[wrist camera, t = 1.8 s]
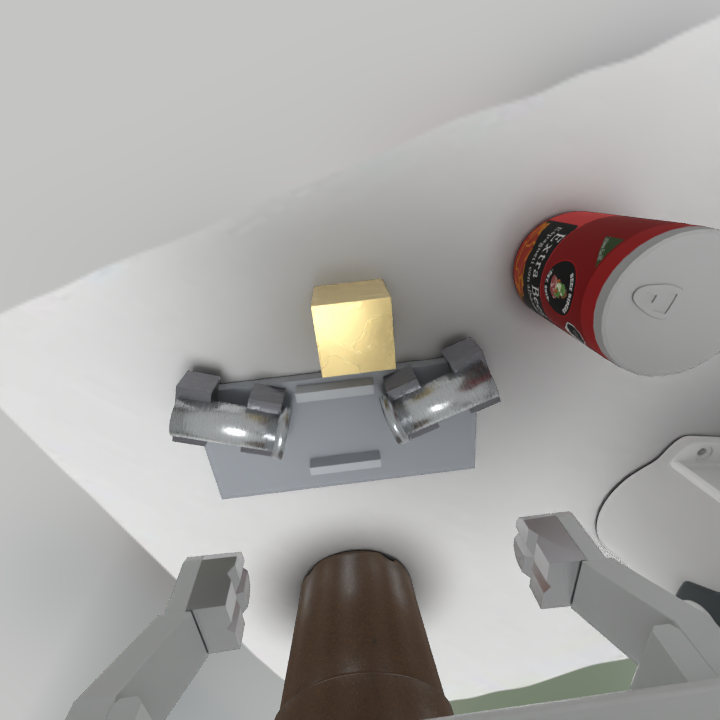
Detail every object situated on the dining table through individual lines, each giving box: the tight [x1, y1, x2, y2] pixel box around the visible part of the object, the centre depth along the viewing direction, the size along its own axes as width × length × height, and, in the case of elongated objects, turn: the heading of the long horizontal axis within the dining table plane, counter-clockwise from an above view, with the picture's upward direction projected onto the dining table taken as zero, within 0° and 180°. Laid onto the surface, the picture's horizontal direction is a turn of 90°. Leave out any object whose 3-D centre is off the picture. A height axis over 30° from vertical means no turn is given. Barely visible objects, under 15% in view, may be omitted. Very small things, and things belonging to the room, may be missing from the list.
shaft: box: [379, 337, 500, 446], centre depth 29 cm, size 8×5×4 cm, turn 116°
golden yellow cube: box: [311, 279, 396, 378], centre depth 28 cm, size 5×5×5 cm
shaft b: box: [169, 370, 292, 460], centre depth 29 cm, size 8×5×4 cm, turn 76°
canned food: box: [513, 211, 720, 376], centre depth 24 cm, size 8×8×11 cm
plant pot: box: [275, 551, 454, 720], centre depth 36 cm, size 16×16×16 cm
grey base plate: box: [204, 358, 476, 499], centre depth 33 cm, size 23×11×2 cm, turn 96°
